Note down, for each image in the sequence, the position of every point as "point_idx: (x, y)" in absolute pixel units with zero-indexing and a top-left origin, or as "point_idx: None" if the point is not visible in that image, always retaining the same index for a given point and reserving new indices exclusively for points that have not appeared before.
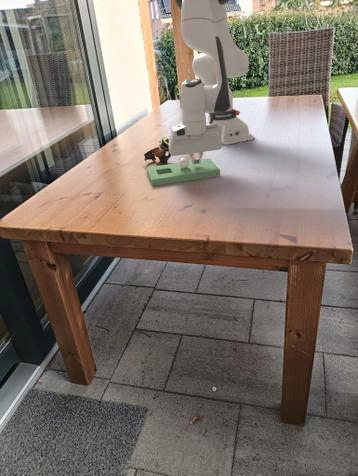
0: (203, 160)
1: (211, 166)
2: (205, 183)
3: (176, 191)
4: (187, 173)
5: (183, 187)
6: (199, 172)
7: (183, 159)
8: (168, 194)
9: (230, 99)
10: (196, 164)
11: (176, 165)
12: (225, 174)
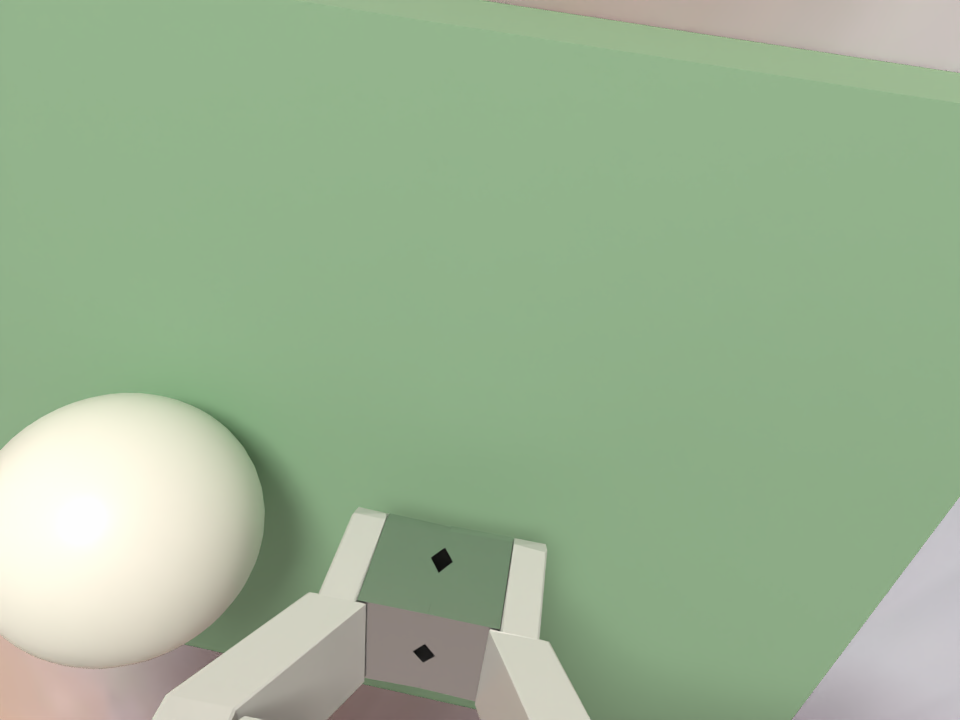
0: (876, 218)
1: (732, 634)
2: (446, 707)
3: (112, 683)
4: (223, 633)
5: (188, 660)
6: (410, 691)
7: (44, 659)
8: (38, 687)
9: None
10: (517, 390)
11: (5, 166)
12: (840, 670)
